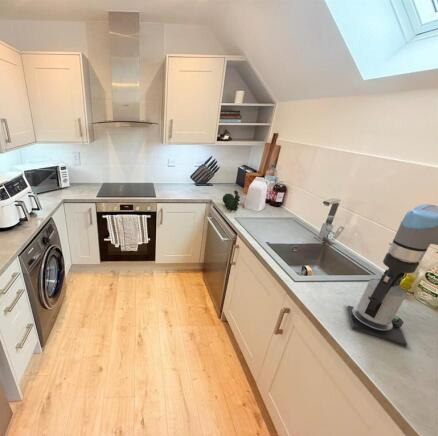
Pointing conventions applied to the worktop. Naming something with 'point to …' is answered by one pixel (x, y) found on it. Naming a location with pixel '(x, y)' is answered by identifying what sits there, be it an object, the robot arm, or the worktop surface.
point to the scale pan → (370, 323)
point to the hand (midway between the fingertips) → (375, 309)
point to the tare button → (395, 318)
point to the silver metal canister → (388, 303)
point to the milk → (256, 195)
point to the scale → (389, 335)
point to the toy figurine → (231, 201)
